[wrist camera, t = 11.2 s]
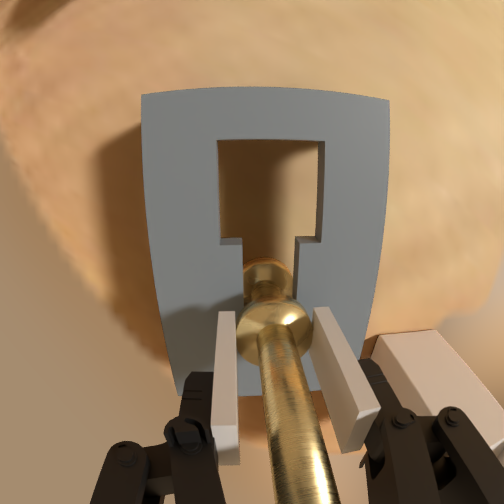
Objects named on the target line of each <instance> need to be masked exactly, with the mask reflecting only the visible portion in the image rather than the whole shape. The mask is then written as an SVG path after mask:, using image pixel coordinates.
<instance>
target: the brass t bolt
mask: <svg viewBox="0 0 504 504" xmlns="http://www.w3.org/2000/svg"><path fill="white" fill-rule="evenodd" d="M292 291H293V278H292V275H291V273H290V271H289V269H288V268H287V267H286V265H285V264H283V263H282V262H280V261H279V260H277V259H274V258H269V257H260V258H256V259H253V260H251V261H249V262H247V263H246V264H244V265H243V296H244V308H243V309H242V310H241V312H240V313H239V315H238V317H237V319H236V323H235V324H236V348H237V350H238V352H239V354H240V355H241V356H242V357H243V358H244V359H245V360H246V361H248V362H249V363H251V364H253V365H256V366H259V370H260V379H261V388H262V397H263V405H264V414H265V423H266V431H267V440H268V448H269V456H270V464H271V473H272V482H273V489H274V498H275V504H341V502H340V498H339V494H338V490H337V486H336V483H335V479H334V475H333V472H332V468H331V464H330V461H329V457H328V453H327V450H326V446H325V443H324V439H323V435H322V432H321V428H320V425H319V421H318V418H317V414H316V411H315V407H314V404H313V400H312V397H311V393H310V390H309V386H308V383H307V379H306V376H305V372H304V369H303V366H302V362H301V359H300V358H301V357H302V356H303V355H304V354H305V353H306V352H307V351H308V349H309V348H310V346H311V344H312V337H313V326H312V323H311V320H310V318H309V316H308V313H307V311H306V309H305V308H304V307H303V306H302V304H301V303H299V302H298V301H297V300H295V299H293V298H292Z"/></svg>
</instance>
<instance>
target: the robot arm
mask: <svg viewBox="0 0 504 504" xmlns="http://www.w3.org/2000/svg"><path fill="white" fill-rule="evenodd" d="M312 326H313V337H312V344H311V346H310V348H309V350H308V352H309V355H310V358H311V361H312V364H313V367H314V370H315V373H316V376H317V379H318V382H319V385H320V388H321V391H322V394H323V397H324V400H325V403H326V406H327V409H328V412H329V415H330V419H331V422H332V425H333V428H334V431H335V434H336V437H337V441H338V444H339V447H340V450H341V453H342V454H343V453H348V452H353V451H357V450H360V449H361V447H362V446H363V444H364V443H365V446H366V448H367V452H366V454H365V455H364V457H363V459H362V460H361V462H360V466H359V468H362V467H363V465H364V464H365V468H366V478H367V488H368V499H369V504H504V467H503V466H502V464H501V463H500V461H499V460H498V458H497V457H496V455H495V454H494V452H493V451H492V450H491V448H490V447H489V445H488V444H487V443H486V441H485V440H484V438H483V437H482V436H481V434H480V433H479V431H478V430H477V429H476V427H475V426H474V425H473V423H472V422H471V421H470V419H469V418H468V417H467V415H466V414H465V413H464V412H463V411H462V410H461V409H459V408H457V407H453V406H448V407H444V408H443V409H442V410H440V412H439V414H438V415H437V416H417V415H416V414H415V413H414V412H413V411H411V410H410V409H407V408H403V407H402V405H401V404H400V402H399V400H398V398H397V396H396V395H395V393H394V391H393V389H392V388H391V386H390V384H389V382H387V379H386V377H385V375H383V372H382V370H381V368H380V367H379V365H378V364H377V363H375V362H374V361H373V360H372V359H370V358H367V359H361V360H357V359H356V357H355V355H354V353H353V351H352V349H351V348H350V346H349V344H348V342H347V340H346V338H345V336H344V334H343V332H342V331H341V329H340V327H339V325H338V323H337V321H336V319H335V318H334V316H333V314H332V312H331V310H330V308H329V307H313V316H312ZM164 436H165V438H166V440H167V442H165V443H163V444H160V445H156V446H149V447H144V448H142V447H141V446H140V445H139V444H137V443H135V442H132V441H122V442H119V443H116V444H115V445H113V446H112V447H111V448H110V450H109V451H108V453H107V456H106V459H105V461H104V464H103V467H102V469H101V472H100V475H99V478H98V481H97V484H96V487H95V490H94V492H93V495H92V498H91V501H90V504H163V503H164V498H165V495H168V494H174V495H175V503H176V504H226V502H225V498H224V494H223V490H222V486H221V481H220V477H219V473H218V463H219V465H240V446H239V415H238V379H237V348H236V324H235V311H219V314H218V326H217V338H216V351H215V364H214V372H199V371H191V373H190V374H189V375H188V377H187V378H186V379H185V382H184V388H183V394H182V400H181V405H180V411H179V416H178V417H175V418H174V419H172V420H170V421H169V422H168V423H167V425H166V426H165V429H164Z"/></svg>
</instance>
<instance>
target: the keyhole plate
mask: <svg viewBox="0 0 504 504" xmlns="http://www.w3.org/2000/svg"><path fill="white" fill-rule="evenodd" d="M141 135H142V163H143V181H144V195H145V207H146V218H147V228H148V237H149V245H150V253H151V261H152V268H153V275H154V282H155V288H156V294H157V300H158V306H159V312H160V317H161V323H162V328H163V333H164V338H165V343H166V347H167V352H168V357H169V361H170V365H171V370H172V374H173V378H174V382H175V386H176V390H177V394H178V396H182V394H183V388H184V382H185V379H186V378H187V377H188V375H189V374H190V373H191V371H199V372H214V364H215V351H216V338H217V326H218V314H219V311H235V323H236V319H237V317H238V315H239V313H240V312H241V310H242V309H243V308H244V296H243V251H242V238H221V234H220V208H219V175H218V141H223V140H293V141H316V142H318V181H317V209H316V229H315V236H295V251H294V272H293V291H292V298H293V299H295V300H297V301H298V302H299V303H301V304H302V306H303V307H304V308H305V309H306V311H307V313H308V316H309V318H310V320H311V323H312V316H313V307H329V308H330V310H331V312H332V314H333V316H334V318H335V319H336V321H337V323H338V325H339V327H340V329H341V331H342V332H343V334H344V336H345V338H346V340H347V342H348V344H349V346H350V348H351V349H352V351H353V353H354V355H355V357H356V359H357V360H359V359H360V356H361V352H362V348H363V344H364V339H365V335H366V331H367V326H368V322H369V317H370V313H371V308H372V303H373V298H374V292H375V287H376V281H377V275H378V269H379V262H380V256H381V249H382V241H383V233H384V224H385V214H386V203H387V191H388V175H389V150H390V108H389V100H385V99H380V98H374V97H368V96H362V95H356V94H349V93H341V92H333V91H323V90H313V89H300V88H283V87H216V88H198V89H186V90H175V91H166V92H158V93H150V94H143V95H141ZM308 350H309V349H308ZM300 359H301V362H302V366H303V369H304V372H305V376H306V379H307V383H308V386H309V390H310V391H317V390H321V388H320V385H319V382H318V379H317V376H316V373H315V370H314V367H313V364H312V361H311V358H310V355H309V352H308V351H307V352H306V353H305V354H304V355H303V356H302V357H301V358H300ZM237 379H238V396H260V395H262V388H261V379H260V370H259V366H256V365H253V364H251V363H249V362H248V361H246V360H245V359H244V358H243V357H242V356H241V355H240V354H239V352H238V350H237Z"/></svg>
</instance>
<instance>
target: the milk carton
mask: <svg viewBox="0 0 504 504" xmlns="http://www.w3.org/2000/svg"><path fill="white" fill-rule="evenodd" d="M370 359H372V360H373V361H374V362H375V363H377V364H378V365H379V367H380V368H381V370H382V372H383V375H385V377H386V379H387V382H389V384H390V386H391V388H392V389H393V391H394V393H395V395H396V396H397V398H398V400H399V402H400V404H401V405H402V407H403V408H407V409H410V410H411V411H413V412H414V413H415V414H416V415H417V416H437V415H438V414H439V412H440V410H442V409H443V408H444V407H448V406H453V407H457V408H459V409H461V410H462V411H463V412H464V413H465V414H466V415H467V417H468V418H469V419H470V421H471V422H472V423H473V425H474V426H475V427H476V429H477V430H478V431H479V433H480V434H481V436H482V437H483V438H484V440H485V441H486V443H487V444H488V445H489V447H490V448H491V450H492V451H493V452H494V454H495V455H496V457H497V458H498V460H499V461H500V463H501V464H502V466H503V467H504V410H503V409H502V407H501V406H500V404H499V403H498V402H497V401H496V399H495V398H494V397H493V396H492V394H491V393H490V392H489V391H488V389H487V388H486V387H485V386H484V385H483V383H482V382H481V381H480V380H479V378H478V377H477V376H476V375H475V374H474V372H473V371H472V370H471V369H470V368H469V367H468V365H467V364H466V363H465V362H464V361H463V360H462V359H461V357H460V356H459V355H458V354H457V353H456V352H455V351H454V350H453V349H452V347H451V346H450V345H449V344H448V343H447V342H446V341H445V339H444V338H443V337H441V335H440V334H439V333H438V332H437V331H436V330H426V331H416V332H407V333H396V334H385V335H379V336H378V339H377V341H376V344H375V347H374V350H373V353H372V355H371V358H370Z"/></svg>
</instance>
